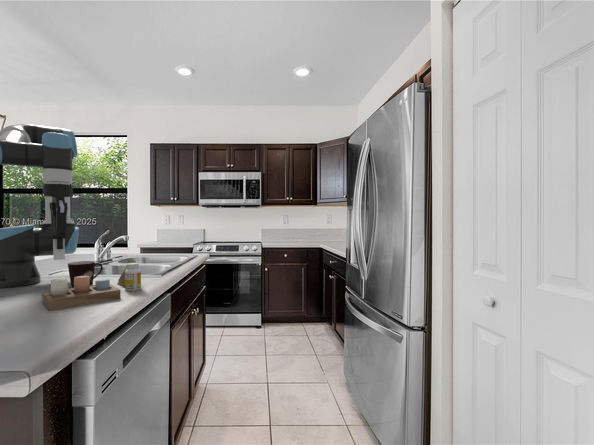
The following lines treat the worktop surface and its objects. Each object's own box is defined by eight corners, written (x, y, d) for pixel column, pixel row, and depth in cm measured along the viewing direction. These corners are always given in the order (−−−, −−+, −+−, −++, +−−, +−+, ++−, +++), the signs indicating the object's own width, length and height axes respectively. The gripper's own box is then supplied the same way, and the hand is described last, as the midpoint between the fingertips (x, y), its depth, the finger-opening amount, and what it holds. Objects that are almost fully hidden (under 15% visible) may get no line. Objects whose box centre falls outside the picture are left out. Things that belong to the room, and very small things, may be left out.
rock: (147, 280, 125) (147, 272, 134) (131, 264, 122) (132, 257, 131) (122, 299, 123) (123, 290, 131) (106, 283, 119) (108, 274, 128)
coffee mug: (69, 293, 114) (69, 265, 114) (66, 289, 121) (66, 262, 121) (107, 288, 122) (106, 262, 122) (102, 284, 129) (102, 259, 128)
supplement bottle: (138, 287, 125) (137, 261, 124) (143, 289, 121) (142, 263, 120) (122, 289, 121) (122, 263, 121) (127, 291, 117) (127, 265, 117)
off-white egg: (50, 295, 102) (49, 279, 101) (66, 293, 105) (65, 277, 104) (52, 298, 99) (52, 281, 99) (68, 295, 102) (68, 279, 101)
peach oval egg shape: (72, 292, 106) (72, 277, 106) (87, 290, 109) (87, 275, 109) (75, 294, 103) (75, 278, 103) (91, 292, 106) (90, 277, 106)
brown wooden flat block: (42, 301, 104) (42, 291, 104) (108, 291, 118) (108, 283, 118) (49, 310, 94) (49, 300, 94) (120, 298, 108) (120, 289, 108)
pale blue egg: (94, 294, 110) (93, 280, 110) (107, 292, 113) (107, 278, 113) (97, 297, 107) (97, 282, 107) (111, 294, 110) (111, 280, 110)
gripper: (77, 183, 99) (78, 260, 99) (68, 186, 108) (69, 256, 109) (46, 181, 93) (47, 263, 94) (39, 184, 103) (40, 258, 103)
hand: (59, 259), depth 101 cm, fingers closed
